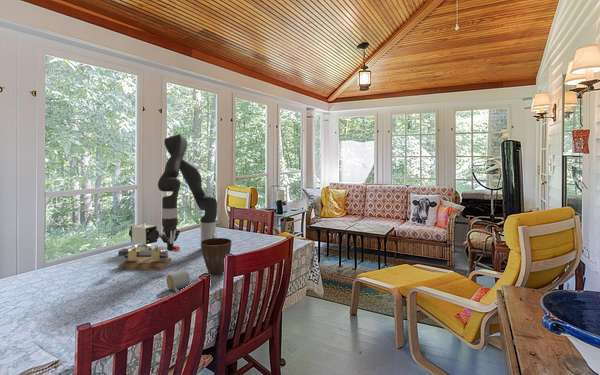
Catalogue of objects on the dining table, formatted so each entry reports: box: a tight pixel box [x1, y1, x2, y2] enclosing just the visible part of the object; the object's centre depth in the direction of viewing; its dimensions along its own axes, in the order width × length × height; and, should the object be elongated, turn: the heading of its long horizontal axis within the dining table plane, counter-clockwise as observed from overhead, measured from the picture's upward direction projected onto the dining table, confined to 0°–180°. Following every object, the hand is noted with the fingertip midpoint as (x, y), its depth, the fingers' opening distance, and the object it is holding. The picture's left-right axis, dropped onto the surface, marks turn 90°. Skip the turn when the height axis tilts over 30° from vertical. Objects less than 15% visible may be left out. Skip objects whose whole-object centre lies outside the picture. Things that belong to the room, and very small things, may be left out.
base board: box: [118, 257, 173, 270], centre depth 180 cm, size 22×14×2 cm, turn 92°
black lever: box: [117, 244, 138, 257], centre depth 173 cm, size 2×15×2 cm, turn 1°
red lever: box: [154, 245, 181, 253], centre depth 177 cm, size 2×15×2 cm, turn 69°
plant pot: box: [200, 237, 232, 276], centre depth 169 cm, size 15×15×16 cm
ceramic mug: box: [166, 269, 191, 293], centre depth 147 cm, size 11×8×8 cm
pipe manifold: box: [122, 247, 169, 263], centre depth 180 cm, size 22×5×7 cm, turn 92°
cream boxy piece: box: [128, 222, 160, 250], centre depth 204 cm, size 18×8×18 cm, turn 65°
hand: (170, 250), depth 173 cm, fingers closed
